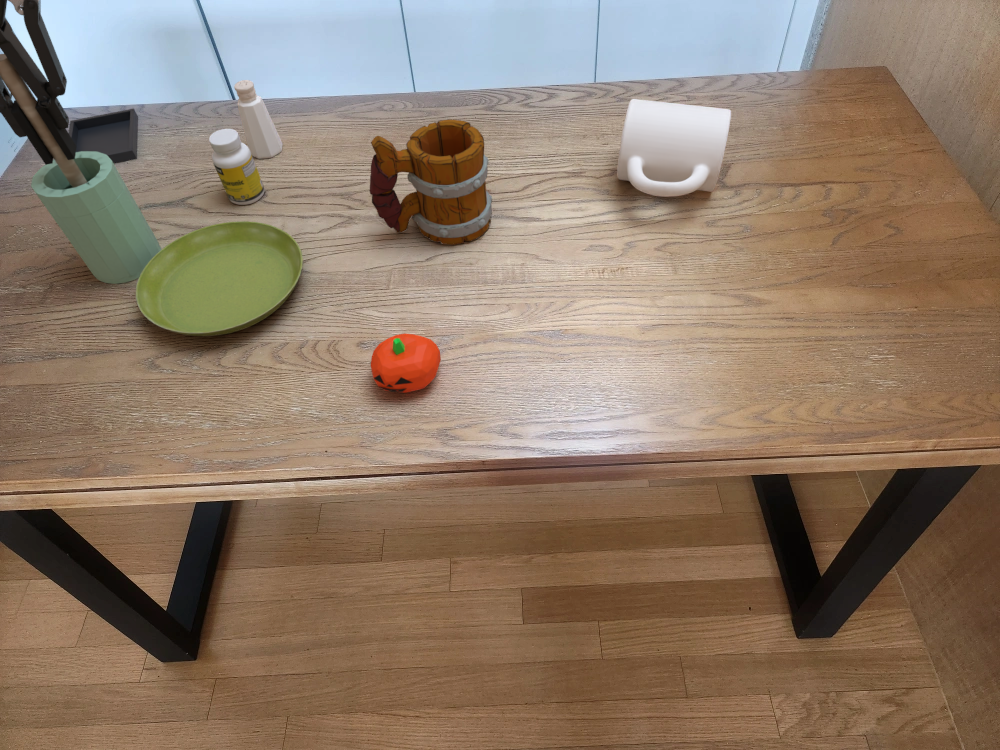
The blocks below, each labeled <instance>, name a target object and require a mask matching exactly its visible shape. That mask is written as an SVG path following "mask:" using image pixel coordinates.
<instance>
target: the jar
mask: <svg viewBox="0 0 1000 750" xmlns="http://www.w3.org/2000/svg"><path fill="white" fill-rule="evenodd" d="M73 160H74V161H75V163H76V164H77V166H78V168H79V169H80V171H81V172H82V174H83V176H84V177H85V179H86V180H87V183H85V184H83V185H80V186H78V187H75V188H72V186H71V185H70V183H69V181H68V180H67V178H66V177H65V175H64V174H63V172H62V171H61V169H60V168H59V166H58V165H57V163H56V162H55V160H54V159H53V163H52V164H47V165H45V164H44V165H43V166H41V167H40V168H39V169H37V172H35V174H34V175H33V176H32V177H31V182H30V187H31V188H32V190H33V192H34V194H35V195H36V196H37V197H38V199H39V200H40V201H41V203H42V205H43V206H44V207H45V208H46V210H47V211H48V213H49V214H50V216H51V218H52V219H53V221H55V223H56V224H57V226H58V227H59V228H60V230H61V231H62V233H63V234H64V236H65V237H66V238H67V240H68V241H69V243H70V245H71V246H72V247H73V248H74V250H75V252H77V254H78V255H79V257H80V258H81V259H82V261H83V262H84V264H85V266H86V267H87V269H89V271H90V272H91V274H92V275H93V277H94V278H95V279H96V280H97V281H100V282H103V283H105V284H110V285H112V284H113V285H114V284H115V285H118V284H125V283H129V282H133V281H135V280H138V279H139V277H140V274H141V273H142V271H143V269H144V268H145V266H146V265H147V264H148V262H149V261H150V260H151V259H152V258H153V257H154V256H155V255H156V254H157V253H158V252H159V251H160V250H162V249H163V248H162V247H161V245H160V242H159V240H158V239H157V236H156V235H155V233H154V231H153V230H152V228H151V226H150V224H149V223H148V221H147V219H146V217H145V215H144V214H143V212H142V211H141V209H140V207H139V205H138V203H137V202H136V200H135V198H134V197H133V195H132V192H131V191H130V189H129V188H128V186H127V184H126V182H125V181H124V178H123V177H122V176H121V174H120V172H119V170H118V169H117V167H116V165H115V164H114V163H113V162H112V160H111V159H110V158H109V157H108V156H107V155H106V154H103V153H100V152H96V151H81V152H76V155H75V159H73Z"/></svg>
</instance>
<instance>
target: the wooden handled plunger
mask: <svg viewBox="0 0 1000 750" xmlns="http://www.w3.org/2000/svg"><path fill="white" fill-rule="evenodd" d="M0 77H1V78H2V80H3V82H4V84H5V86H6V88H7V90H8V91H9V93H11V94H12V98H14V101H15V100H16V102H17V103H18V105H19V106H20V108H21V109H22V111H23V112H24V114H25V115H26V117H27V118H28V120H29V122H30V123H31V125H32V126H33V128H34V129H35V131H36V132H37V134H38V135H39V137H40V138H41V140H42V142H43V143H44V145H45V146H46V148H47V149H48V151H49V152H50V154H51V155H52V157H53V160H55V162H56V163H57V165H58V166H59V168H60V169H61V171H62V172H63V174H64V175H65V177H66V178H67V180H68V181H69V183H70V185H71V186H72V188H75V187H78V186H80V185H83V184H85V183H87V180H86V179H85V177H84V176H83V174H82V172H81V171H80V169H79V168H78V166H77V164H76V163H75V161H74V160H73V159H71V160H68V159H67V157H66V156H65V154H64V153H63V151H62V150H61V148H60V146H59V145H58V143H57V142H56V140H55V139H54V137H53V135H52V134H51V132H50V131H49V129H48V127H47V126H46V124H45V123H44V121H43V120H42V118H41V116H40V115H39V113H38V112H37V110H36V109H35V107H36V103H37V98H36V96H35V95H34V93H33V92H32V91H31V89H30V88H29V87H28V85H27V84H26V83H25V81H24V80H23V79H22V77H21V76H20V74H19V73H18V72H17V70H16V69H15V68H14V66H13V65H12V64H11V62H10V61H9V60H8V58H7V57H6V55H5V54H4V53H0Z"/></svg>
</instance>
